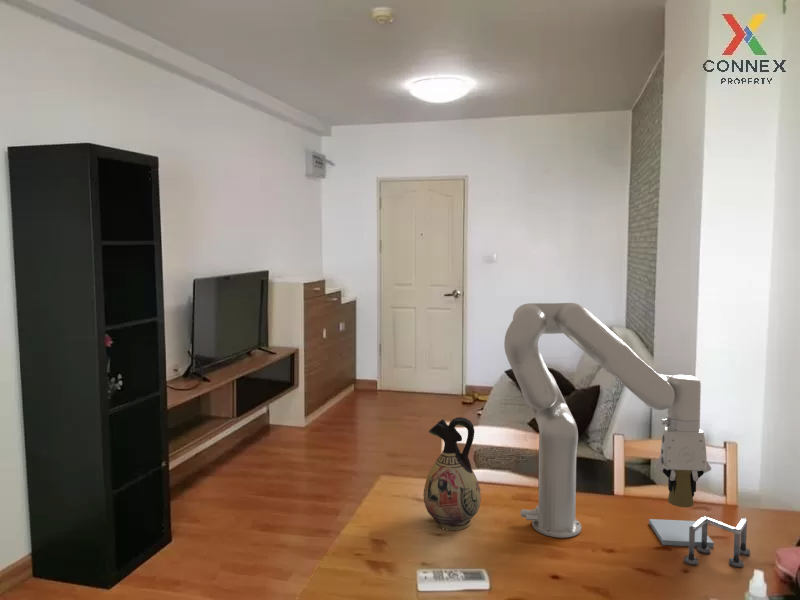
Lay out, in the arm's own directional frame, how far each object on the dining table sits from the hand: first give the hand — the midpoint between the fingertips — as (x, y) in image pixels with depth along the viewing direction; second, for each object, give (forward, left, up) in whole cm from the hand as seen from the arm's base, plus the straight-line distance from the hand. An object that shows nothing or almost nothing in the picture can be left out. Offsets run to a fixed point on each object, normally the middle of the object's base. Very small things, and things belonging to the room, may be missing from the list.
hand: (681, 493), depth 154 cm
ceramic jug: (-58, 0, -11) cm, 59 cm away
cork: (0, 0, -3) cm, 3 cm away
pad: (0, 0, -11) cm, 11 cm away
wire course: (+5, -11, -11) cm, 16 cm away
